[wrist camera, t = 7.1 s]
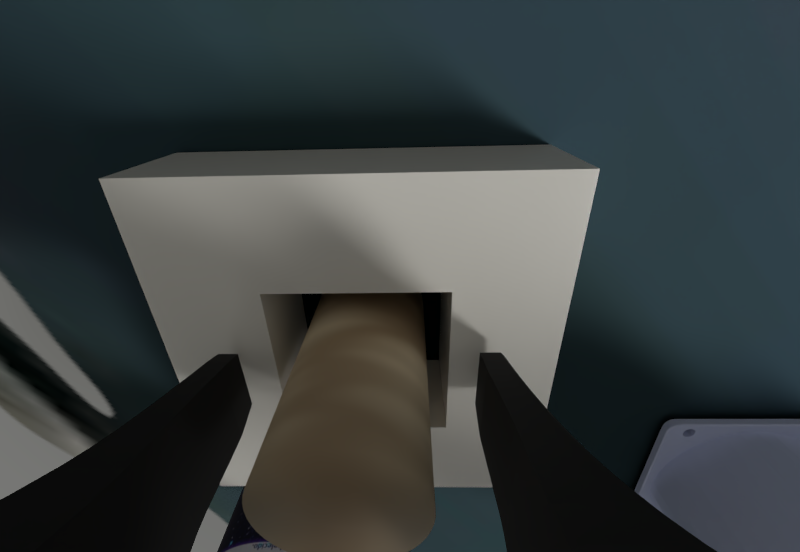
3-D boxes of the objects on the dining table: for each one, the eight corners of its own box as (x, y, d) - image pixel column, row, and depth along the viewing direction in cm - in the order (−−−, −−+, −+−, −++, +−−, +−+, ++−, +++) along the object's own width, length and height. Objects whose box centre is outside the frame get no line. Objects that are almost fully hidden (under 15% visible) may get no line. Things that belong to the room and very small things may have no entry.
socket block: (550, 144, 12) (600, 168, 9) (508, 414, 18) (529, 487, 14) (176, 152, 12) (98, 178, 9) (252, 415, 18) (220, 485, 15)
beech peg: (425, 262, 14) (442, 453, 7) (421, 348, 16) (430, 567, 9) (317, 259, 14) (224, 446, 7) (325, 345, 16) (259, 561, 9)
